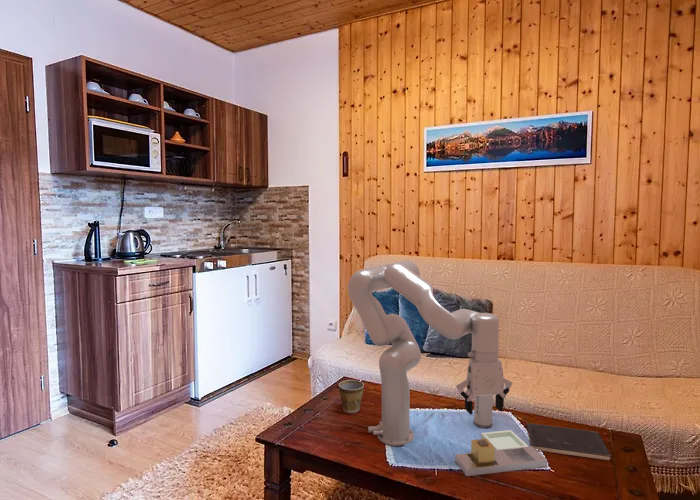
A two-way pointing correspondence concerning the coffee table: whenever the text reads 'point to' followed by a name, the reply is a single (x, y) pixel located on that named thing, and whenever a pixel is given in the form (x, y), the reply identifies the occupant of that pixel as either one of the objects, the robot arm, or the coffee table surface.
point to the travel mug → (483, 410)
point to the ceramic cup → (351, 395)
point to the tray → (503, 439)
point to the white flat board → (503, 461)
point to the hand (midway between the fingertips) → (484, 410)
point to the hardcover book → (567, 441)
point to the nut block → (482, 452)
